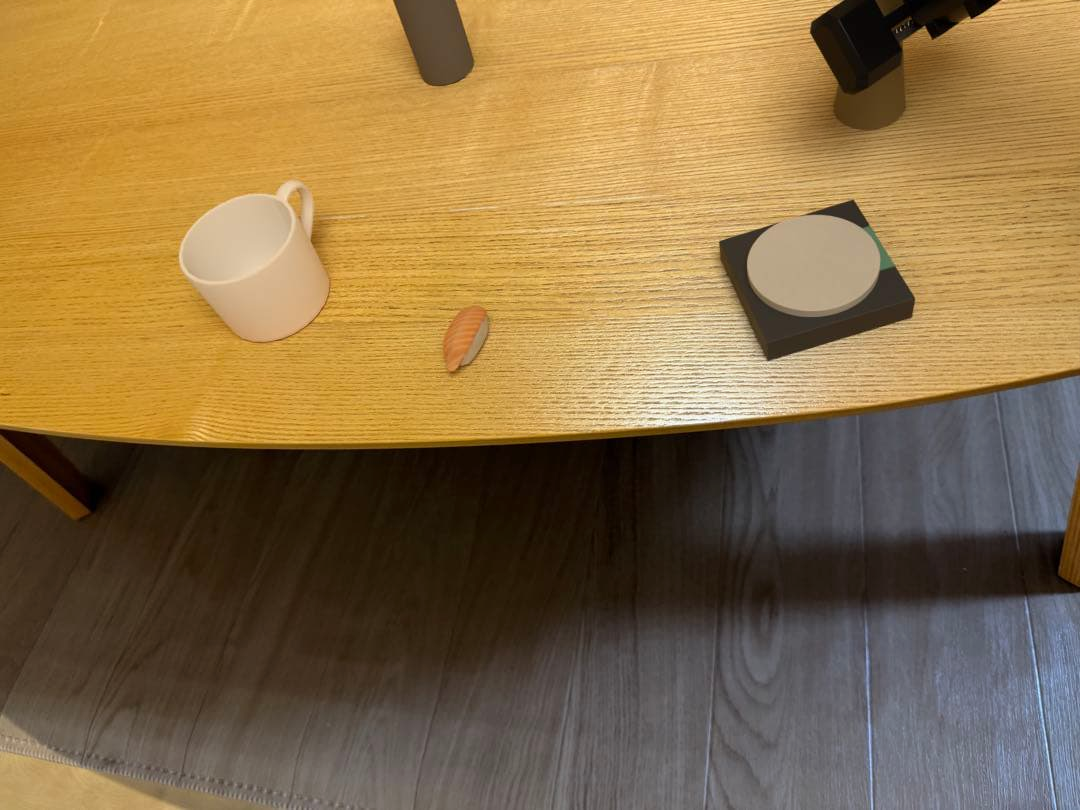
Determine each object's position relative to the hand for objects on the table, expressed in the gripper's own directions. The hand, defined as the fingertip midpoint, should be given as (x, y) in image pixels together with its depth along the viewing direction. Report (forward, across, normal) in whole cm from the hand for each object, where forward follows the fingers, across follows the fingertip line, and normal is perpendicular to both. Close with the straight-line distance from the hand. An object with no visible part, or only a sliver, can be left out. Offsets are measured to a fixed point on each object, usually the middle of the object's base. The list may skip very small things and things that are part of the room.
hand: (862, 34), depth 78 cm
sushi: (+6, +41, +4) cm, 42 cm away
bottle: (+30, +22, -20) cm, 42 cm away
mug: (+19, +50, -9) cm, 54 cm away
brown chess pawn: (+4, 0, +6) cm, 7 cm away
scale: (-4, +18, +14) cm, 23 cm away
